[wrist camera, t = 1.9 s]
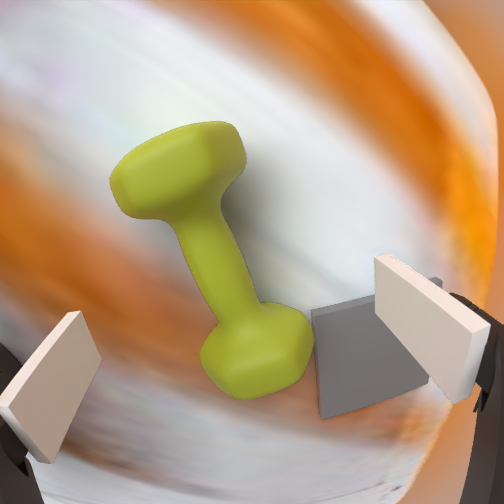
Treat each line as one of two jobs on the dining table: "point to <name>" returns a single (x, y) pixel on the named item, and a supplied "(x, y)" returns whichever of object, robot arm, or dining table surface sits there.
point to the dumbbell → (215, 255)
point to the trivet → (360, 358)
